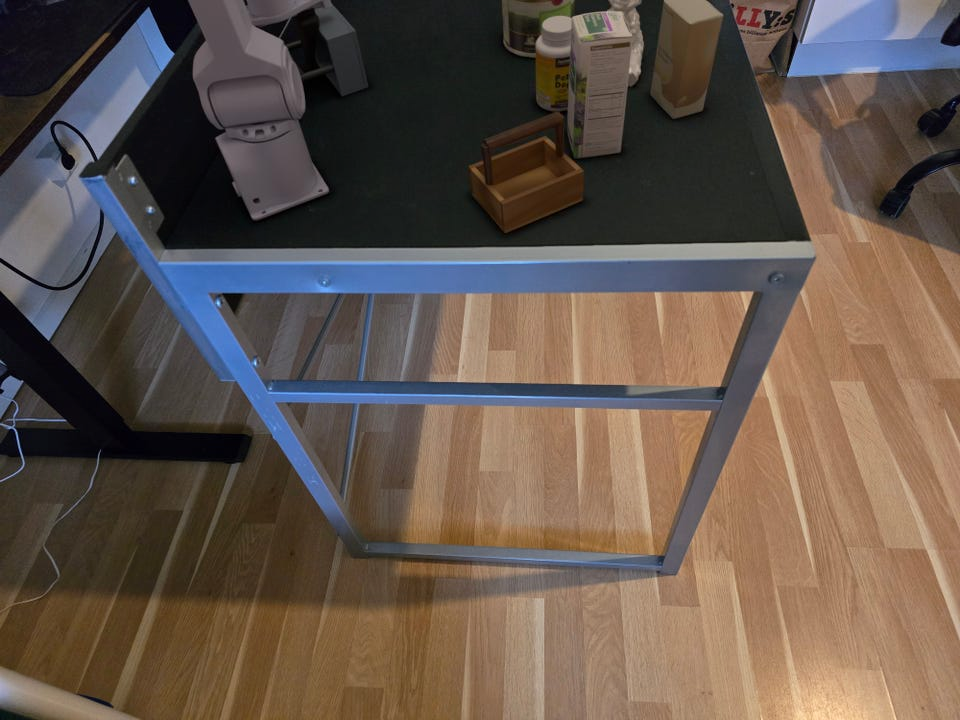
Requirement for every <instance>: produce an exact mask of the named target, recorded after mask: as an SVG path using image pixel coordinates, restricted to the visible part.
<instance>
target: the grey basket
mask: <svg viewBox="0 0 960 720" xmlns="http://www.w3.org/2000/svg"><path fill="white" fill-rule="evenodd" d="M331 4H332V7H330V8H327V9H324V8H323V7H322V8H319V9H316V10H315V13H316V15H317V16H318V17H319V22H320V27H319V30H318V34H317V39H316V48H315V60H316V63H317V66H319V67H318V68H316V69H315V70H312V71H311V70H310V71H307V72H304V71H303V69H302V68H301V66H300V65H299V63H297V61H296V59H295V58H294V57H293V55H292V54H291V51H294V50H297V49H300V48H302V44H301V40H300V39H298V40H296V41H293V42H290V43H287V44H284V45H285V46H286V47H287V49H288V51H289V54H290V56H291V58H292V60H293V61H294V62H295V64H296V66H297V68H298V71H299V74H300V77H301V80H302V84H304V83H305V82H306V81H309V80H311V79H315V78H318V77H321V76H324V75H325V77H327V79H328V80H329V82H330V83H331V84H332V85H333V87H334V88H335V89H336V91H337V92H338V93H339V95H340V96H341V97H345V96H348V95H350V94H353V93H356V92H359V91H361V90H364V89H365V90H366V89H368V88H369V83H368V79H367V74H366V70H365V66H364V61H363V57H362V53H361V47H360V44H359V40H358V35H357V31H356V29H355V28H354V27H353V25H351V24H350V22H349V21H348V20H347V19H346V18H345V17H344V15H342V14H341V12H340V11H339V10H338V8H337V7H335V6H334V4H333V3H332V2H331Z"/></svg>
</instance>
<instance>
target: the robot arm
mask: <svg viewBox="0 0 960 720" xmlns="http://www.w3.org/2000/svg"><path fill="white" fill-rule="evenodd" d="M187 1H188V3H189V6H190V8H191V10H192V12H193V14H194V17H195V19H196V22H197V23H198V26H199V28H200V30H201V32H202V34H203V37H204V39H205V41H204V42H203V43H202V45H200V47H199V48H198V50H197V51H196V53H195V55H194V57H193V63H192V79H193V82H194V84H195V86H196V87H195V88H196V89H197V92H198V95H199V99H200V103H201V106H202V109H203V112H204V114H205V116H206V118H207V120H208V121H209V122H210V123H211V124H212V125H213V126H214V127H215V128H216V129H218V130H225V131H224V132H223V133H221V134H220V135H218V136H216V137H215V141H216V144H217V146H218V148H219V150H220V152H221V155H222V158H223V159H224V161H225V164H226V166H227V168H228V171H229V173H230V175H231V178H232V179H233V181H232V182H231V184H232V186H233V188H234V190H235V192H236V194H237V197H238V198H241V199H242V201H243V202H244V204H245V205H244V206H245V207H246V209H247V211H248V214H249V215H250V218H251V219H252V221H255V222H256V221H259V220H263V219H265V218H267V217H270V216H272V215H275V214H278V213H280V212H283V211H286V210H288V209H291V208H293V207H296V206H298V205H302V204H304V203H307V202H310V201H312V200H314V199H317V198H320V197H322V196H324V195H327V194H328V193H330V189H329V186H328V185H327V184H326V182H325V181H324V178H323V177H322V175H321V174H320V172H319V171H318V169H317V167H316V166H315V164H314V163H313V161H312V158H311V155H310V152H309V149H308V146H307V143H306V140H305V136H304V133H303V130H302V128H301V124H300V122H299V120H301V119H302V118H303V115H304V113H305V112H306V97H305V91H304V90H305V89H304V85H303V83H302V80H301V77H300V74H299V71H298V68H297V66H296V64H295V62H294V61H293V60H292V58H291V56H290V54H291V53H290V51H288V49H287V47H286V46H285V45H286V44H285V42H284V40H283V39H282V38H279V37H277V36H275V35H273V34H271V33H269V32H266V31H264V30H263V29H261V28H263V27H266V26H268V25H272V24H277V23H281V22H284V21H286V20H288V19H291V18H292V21H293V22H294V26H295V28H296V31H297V34H298V38H299V40H301V44H302V47H301V48H302V52H303V57H304V59H305V63H306V66H307V67H308V69H310V71H312V70H315V69H317V64H316V63H317V60H316V56H315V48H316V39H317V34H318V30H319V27H320V22H319V17H318V16H317V15H316V13H315V10H316V9H319V8H322V7H323V8H324V9H327V8H330V7H332V4H333V3H332V1H331V0H246V3H247V5H246V3H245V0H187ZM331 3H332V4H331ZM289 53H290V54H289Z"/></svg>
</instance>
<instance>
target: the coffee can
mask: <svg viewBox="0 0 960 720" xmlns="http://www.w3.org/2000/svg"><path fill="white" fill-rule="evenodd" d="M575 3H576V0H501V10H502V11H501V12H502V26H503V27H502V30H503V40H502V41H503V45H504V48H505V49H506V50H508V51H509V52H510V53H512V54H513V55H516V56H519V57H523V58H528V59H529V58H532V59H536V41H537V39H538V38H539V37H540V36H541V35H542V23H543V22H544V21H545V20H546V19H548V18H550V17H554V16H566V17H570V18H572V17H573V16H575V7H576V6H575V5H576V4H575Z"/></svg>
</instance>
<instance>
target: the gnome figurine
mask: <svg viewBox="0 0 960 720" xmlns="http://www.w3.org/2000/svg"><path fill="white" fill-rule="evenodd" d="M607 1H608V3H609V4H610V8H609V9H607V10H606V11H621V12H623V15H624V17H625V19H626V21H627V23H628V26H629V29H630V32H631V34H632V37H633V40H632V50H631V60H630V69H629V79H628V87H630V88H632V87H633V86H634V85H635V84H636V83H637V82H638V81H639V76H640V75H641V74H642V73H641V72H642V69H641V66H642V60H643V54H644V53H643V52H644V48H645V42H644V40H643V39H644V36H643V34H642V33H643V32H642V30H641V27H640V26H641V22H640V14H639V12H638V11H637V9H636V7H638V6H639V5H641V4H642V1H643V0H607Z"/></svg>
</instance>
